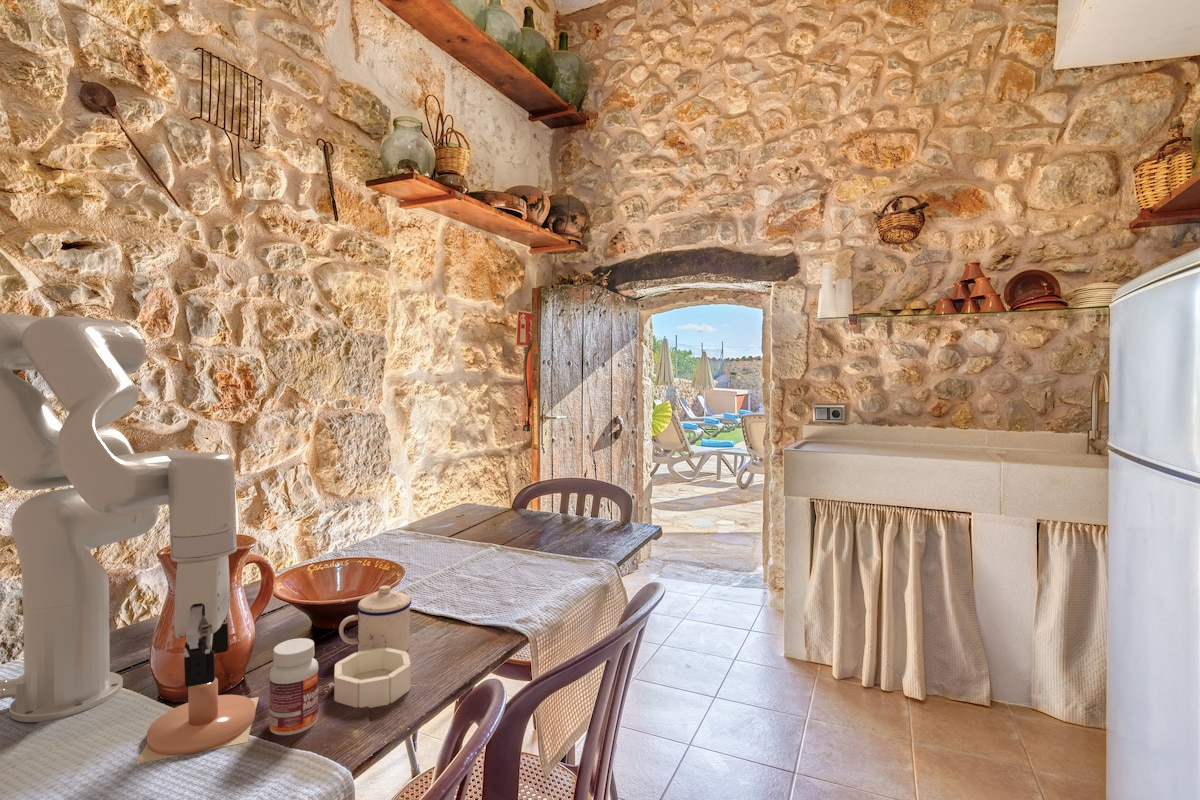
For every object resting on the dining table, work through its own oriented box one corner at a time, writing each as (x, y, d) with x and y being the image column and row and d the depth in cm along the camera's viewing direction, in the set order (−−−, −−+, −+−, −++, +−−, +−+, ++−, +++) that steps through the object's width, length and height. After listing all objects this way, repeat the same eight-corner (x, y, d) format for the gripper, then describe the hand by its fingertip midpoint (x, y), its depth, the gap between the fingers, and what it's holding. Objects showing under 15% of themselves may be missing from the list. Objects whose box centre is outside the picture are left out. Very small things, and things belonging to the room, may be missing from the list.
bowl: (333, 714, 86) (334, 687, 86) (335, 679, 96) (335, 654, 96) (412, 699, 91) (413, 674, 90) (405, 667, 101) (406, 644, 100)
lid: (133, 764, 74) (133, 716, 74) (161, 712, 85) (161, 670, 85) (248, 742, 79) (248, 696, 78) (260, 696, 90) (260, 655, 90)
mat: (136, 766, 74) (136, 763, 74) (163, 715, 85) (163, 712, 85) (246, 744, 79) (246, 742, 79) (258, 699, 90) (258, 696, 90)
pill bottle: (312, 735, 81) (312, 654, 81) (262, 740, 80) (263, 657, 79) (322, 710, 87) (323, 634, 87) (276, 715, 86) (277, 638, 85)
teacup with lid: (405, 636, 113) (405, 575, 112) (415, 656, 105) (416, 591, 104) (336, 649, 107) (336, 585, 106) (341, 671, 99) (342, 602, 98)
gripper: (187, 532, 87) (190, 647, 88) (151, 564, 71) (156, 704, 72) (245, 527, 90) (249, 638, 91) (224, 556, 74) (228, 691, 75)
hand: (208, 667), depth 81 cm, fingers open, 9 cm apart
